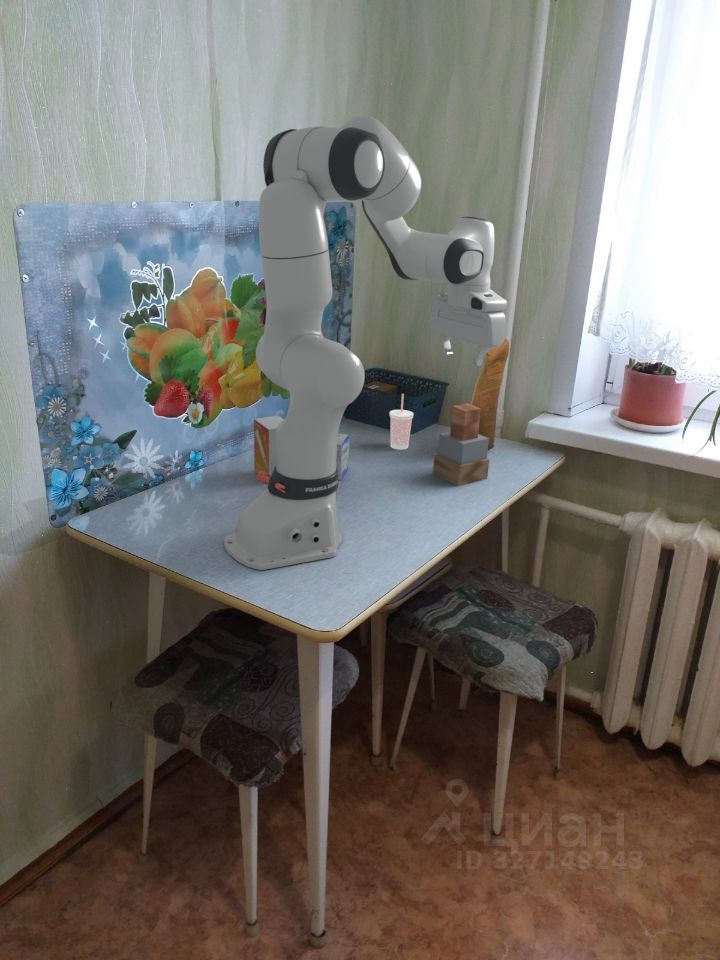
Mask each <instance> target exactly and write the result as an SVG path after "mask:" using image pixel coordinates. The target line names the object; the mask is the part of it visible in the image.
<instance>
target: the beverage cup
mask: <svg viewBox="0 0 720 960" xmlns="http://www.w3.org/2000/svg"><path fill="white" fill-rule="evenodd" d="M404 396H405V394H404V393H401V400H400V401H401V402H400V403H401V404H400V409H392V410H390V411H389V417H390V447H391V448H392V449H394V450H407V449H408V448H409V443H410V437H411V436H410V435H411V429H412V421H413V418H414V415H415V414H414V412H413V411H410V410H407V409H406V410H405V409H404V398H405V397H404Z"/></svg>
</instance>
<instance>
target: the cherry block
mask: <svg viewBox="0 0 720 960" xmlns="http://www.w3.org/2000/svg"><path fill="white" fill-rule="evenodd" d="M451 409H452V411H451V419H450V420H451V421H450V431H449V432H450V435H451V436H453V437H455V438H457V439H460V440H462V441H465V440H470V439H475V438H478V431H479V422H480V412H481V408H478V407H476V406H473V405H471V403H462V404H457V405H452V408H451Z"/></svg>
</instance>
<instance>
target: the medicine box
mask: <svg viewBox="0 0 720 960" xmlns="http://www.w3.org/2000/svg"><path fill="white" fill-rule="evenodd" d="M349 454H350V435H349V434H348V433H347V434H345V433H338V439H337V457H336V467H337V468H338V481H342V479H343V478H344V476H345V474H346V472H347V471H348V470H349V457H350V455H349Z"/></svg>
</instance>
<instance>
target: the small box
mask: <svg viewBox="0 0 720 960" xmlns="http://www.w3.org/2000/svg"><path fill="white" fill-rule="evenodd" d="M284 419H285V418H283V417H281V416H280V415H273V416H265V417H257V418H253V436H254V437H253V447H254V451H253V454H254V455H253V456H254V460H253V462H254V463H253V465H254V468H253V470H254V473H255V474H256V475H257V474H259V473H258V472H259V471H265V472H266V473H268V474H269V475H270V477H271V475H272V472H273V470H274V467H275V466H276V430H277V427H278V425H279V424H280V422H281V421H283V420H284Z"/></svg>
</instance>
